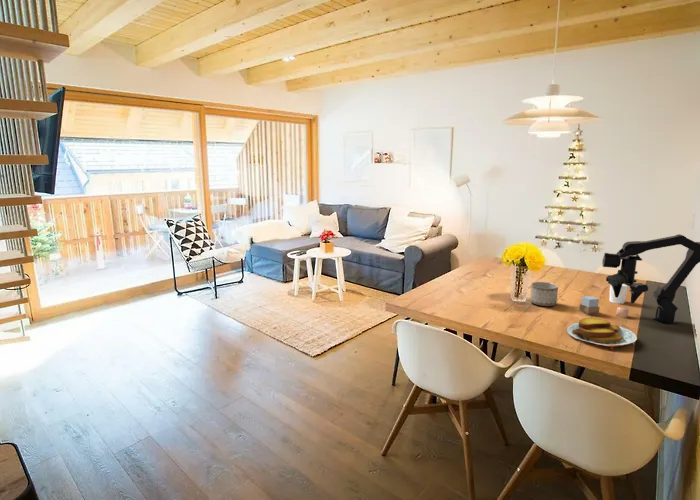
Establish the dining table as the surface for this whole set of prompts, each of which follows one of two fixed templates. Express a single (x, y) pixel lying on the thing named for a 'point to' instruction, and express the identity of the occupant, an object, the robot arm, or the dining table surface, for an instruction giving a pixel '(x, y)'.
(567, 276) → the dining table surface
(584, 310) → the tower base
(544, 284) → the planter
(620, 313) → the pink rounded block
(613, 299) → the white cup
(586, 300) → the tower top
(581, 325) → the food on plate
